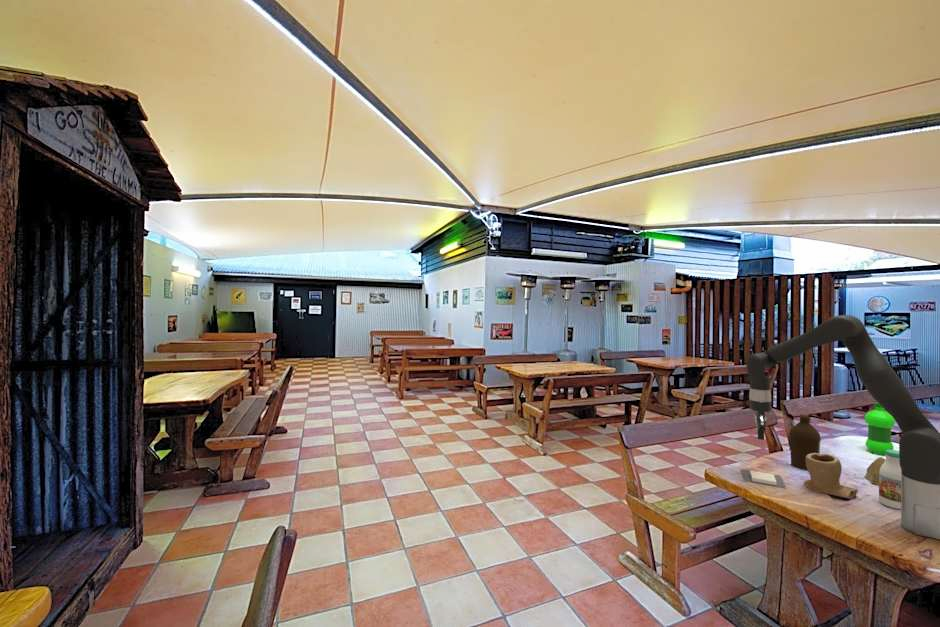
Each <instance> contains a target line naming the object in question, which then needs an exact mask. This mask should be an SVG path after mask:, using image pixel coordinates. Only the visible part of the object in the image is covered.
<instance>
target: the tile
mask: <svg viewBox="0 0 940 627" xmlns="http://www.w3.org/2000/svg"><path fill="white" fill-rule="evenodd" d="M756 471H757V470H751V471H750V475H751V479H752V481H753V482H758V483H764V484H769V485H774V486H776V485H777V482H776V479H775V477H774V475H775V474H774V475H773V473H768V472H762V471H757V472H756Z"/></svg>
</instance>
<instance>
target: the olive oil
mask: <svg viewBox="0 0 940 627" xmlns="http://www.w3.org/2000/svg"><path fill="white" fill-rule="evenodd" d="M799 415H800V416H799V422H798V423H796V424H795V425H793V426H792V427H791V428H790V430H789V432H788V436H789V447H790V450H789V451H790V466H792V467H794V468H796V469H798V470H799V469H800V470H801V471H807V472H808V470H807V467H806V461H805V458H806V456H807V455H808V454H811V453H819V454H821V453H820V452H821V451H820V450H821V439H822V438H821V434H820V433H819V431H818V430H817V429H816V428H815V427H814V425H812V424H811V423H810V420H811V419H810V418H811V417H810V414H808V413H799Z"/></svg>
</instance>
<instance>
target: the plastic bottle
mask: <svg viewBox="0 0 940 627" xmlns="http://www.w3.org/2000/svg"><path fill="white" fill-rule="evenodd" d="M873 407H874V409H872V410H870V411H868V412H866V413H865V415H864V422H865V423H866V424H867V425H868V426H867V434H868V435H867V436H868V437H867V439H866V441H865V447H866V448H867V449H868V450H869V451H871V453H873V454H876V455H880V456H882V455H883V456H885V455H886V454H885V451H886V450H894V446H895V445H894V444H893V442H892V440H891V439H892V428H893V427H894V426H895V424H896V421H895V419H894V418H893V417H892V415H891V414H890V413H889V412H888V411H887V410H885V408H884V407H882V406H881V405H880V404H879V403H878V402H877V401H874V402H873Z"/></svg>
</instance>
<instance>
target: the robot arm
mask: <svg viewBox="0 0 940 627" xmlns="http://www.w3.org/2000/svg"><path fill="white" fill-rule="evenodd" d="M839 341H841V342H842V344H843V345H844V346H845V348H846V349H847V350H848V352H849V354H850V356H851V357H852V360H853V363H854V368H855V370H856V373H857V375H858V378H859V380H860V382H861V383H862V384H863V386H864V388H865V390H867V393H869V395H871V397H872V398H873V399H874V400H875V402H878V403H879V404H880V405H881V406H882V407H884V410H885V411H886V412H887V413H889V414H890V415H891V416H892V417H893V418H894V419H895V423H896V424H897V426H898V428H899V430H900V431H901V433H902V435H901V436H900V438H899V440H898V441H899V443H898V451H899V461H900V467H901V509H900V526H902V527H903V529H905V530H908V531H909V532H911V533H913V534H914V535H918V536H922V537H928V538H930V539H931V538H933V539H937V540H940V431H939V430H938V429H937V428H936V427H935V426H934V425H933V423H932V422H930V420H929V419H928V418H927V417H926V416H925V414H924V413H923V412H922V410H921V409H920V408H919V406H918V404H917V403H916V400H915V399H914V397H913V396H912V394H911V393H910V392H909V390H908V388H907V387H906V385H905V383H904V382H903V381H902V379H901V378H900V376H899V375H898V374H897V373H896V371H895V370H894V369H893V367H892V366H891V365H890V363H889V362H888V360H887V359H886V358H885V356H884V355H883V354H882V353H881V352H880V350H879V349H878V348H877V346H876V344H875V343H874V342H873V339H872V337H871V336H870V335H869V332H868V330H867V329H866V326H865V325H864V323H863V322H862V320H861V319H859V318H858V317H856V316H854V315H850V314H841V315H834V316H832V317H829V319H827V320H825V321H823V322H822V323H820V324H819V325H817V326H816V327H814V328H812V329H811V330H807V332H805V333H802V334H800V335H798V336H795V337H792V338H790V339H787V340H784V341H783V342H782V341H781V342H780V343H777V344H774V345H773V346H771V347H770V348H769V349H767V350H765V351H761V352H758V353H751V354H750V355H748V356H747V358H746V360H745V366H746V371H747V373H748V376H749V394H748V395H749V397H748V398H749V409H750V410H751V411H754V419H755V420H754V421H755V424H756V425H755V426H756V431H757V433H756V435H757V439H758V440H761V441H762V440H763V441H765V431H766V427H767V419H768V417H767V414H765V413H770V412H771V411H772V392H771V379H770V376H768V375H766V370H767V369H770V368H772V367H774V366H776V365H778V364H780V363H782V362H786V361H789V360H791V359H793V358H796V357H799V356H801V355H803V354H805V353H807V352H808V351H811V350H812V349H815V348H817V347H819V346H822V345H823V346H824V345H826V344H831V343H834V342H839Z"/></svg>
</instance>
